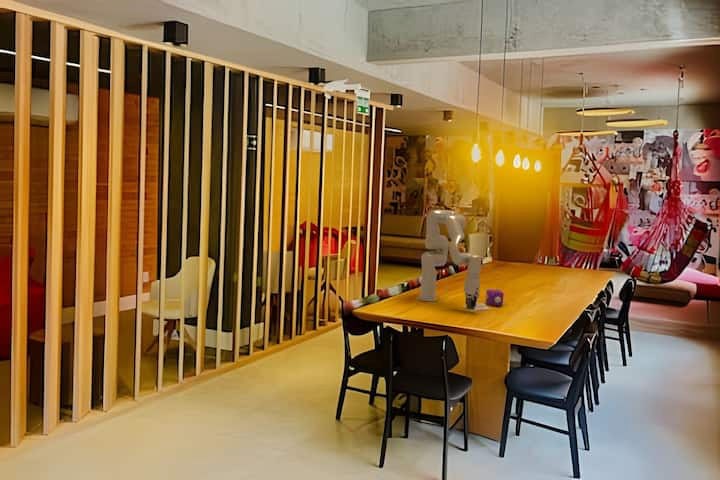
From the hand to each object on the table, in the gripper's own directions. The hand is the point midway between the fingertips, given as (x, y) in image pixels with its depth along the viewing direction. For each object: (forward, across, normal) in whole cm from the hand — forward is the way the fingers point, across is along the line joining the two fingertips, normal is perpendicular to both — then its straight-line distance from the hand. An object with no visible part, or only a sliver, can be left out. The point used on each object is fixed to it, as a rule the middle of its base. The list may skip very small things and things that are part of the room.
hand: (470, 305), depth 377 cm
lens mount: (+5, -8, +11) cm, 15 cm away
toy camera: (+5, -15, +30) cm, 34 cm away
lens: (+2, 0, 0) cm, 2 cm away
